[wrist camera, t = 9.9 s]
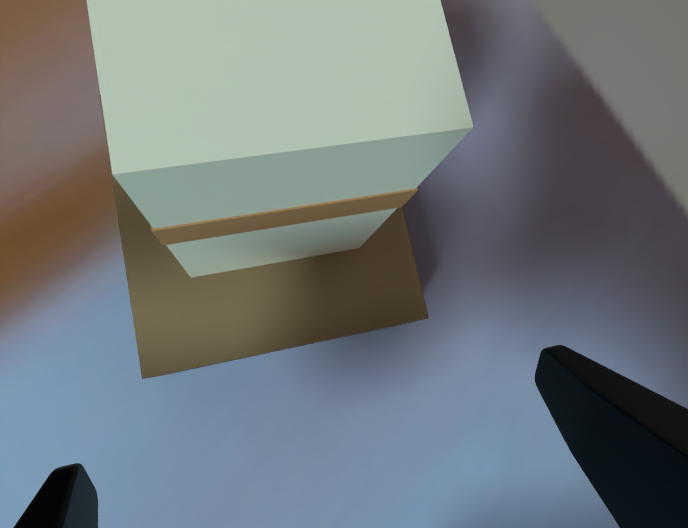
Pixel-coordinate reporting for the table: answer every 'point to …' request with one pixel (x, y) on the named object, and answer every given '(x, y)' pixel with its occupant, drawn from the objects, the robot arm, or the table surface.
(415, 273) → the base
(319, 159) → the carton
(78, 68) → the table surface
